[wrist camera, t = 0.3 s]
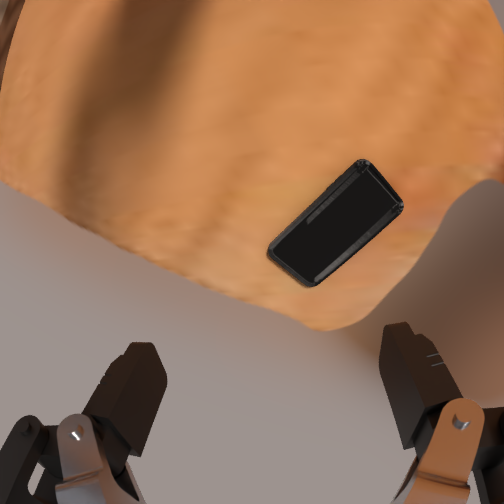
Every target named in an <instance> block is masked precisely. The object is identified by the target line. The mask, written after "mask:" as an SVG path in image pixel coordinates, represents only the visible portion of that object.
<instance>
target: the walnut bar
mask: <svg viewBox="0 0 504 504" xmlns="http://www.w3.org/2000/svg"><path fill="white" fill-rule="evenodd" d="M24 2H25V0H0V90H1V84H2V79H3V74H4V69H5V65H6V60H7V56H8V52H9V48H10V45H11V41H12V38H13V34H14V31H15V28H16V25H17V22H18V19H19V16H20V13H21V10H22V8H23V5H24Z"/></svg>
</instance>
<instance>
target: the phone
mask: <svg viewBox="0 0 504 504" xmlns="http://www.w3.org/2000/svg"><path fill="white" fill-rule="evenodd" d="M403 208H404V204H403V201H402V199H401V198H400V197H399V196H398V194H397V193H396V192H395V191H394V189H393V188H392V187H391V186H390V184H389V183H388V182H387V181H386V179H385V178H384V177H383V176H382V175H381V173H380V172H379V171H378V170H377V169H376V168H375V166H374V165H373V164H372V163H371V162H369V161H368V160H366V159H360V160H357V161H356V162H355V163H354V164H353V165H351V166H350V167H349V168H348V169H347V170H346V171H345V172H344V173H343V174H342V175H341V176H339V177H338V178H337V179H336V180H335V182H334V183H332V184H331V185H330V186H329V187H328V188H327V189H326V190H325V191H324V192H323V193H322V194H321V195H320V196H319V197H318V198H317V199H316V200H315V201H314V202H313V203H312V204H311V205H310V206H309V207H308V208H307V209H306V210H305V211H303V212H302V213H301V214H300V215H299V216H298V217H297V218H296V219H295V220H294V221H293V222H292V223H291V224H290V225H289V226H288V227H287V228H286V229H285V230H284V231H282V232H281V233H280V234H279V235H278V236H277V237H276V238H275V239H274V240H273V241H272V242H271V243H270V244H269V247H268V252H269V256H270V257H271V258H272V259H273V260H274V261H276V262H277V263H278V264H279V265H281V266H282V267H283V268H285V269H286V270H287V271H288V272H290V273H291V274H292V275H293V276H295V277H296V278H297V279H298V280H300V281H301V282H302V283H303V284H305V285H306V286H309V287H314V286H317V285H318V284H320V283H321V282H322V281H323V280H325V279H326V278H327V277H328V276H330V275H331V274H332V273H333V272H334V271H336V270H337V269H338V268H339V267H340V266H342V265H343V264H344V263H345V262H346V261H347V260H349V259H350V258H351V257H352V256H353V255H355V254H356V253H357V252H358V251H359V250H360V249H362V248H363V247H364V246H365V245H366V244H367V243H368V242H370V241H371V240H372V239H373V238H374V237H375V236H376V235H377V234H379V233H380V232H381V231H382V230H383V229H384V228H385V227H386V226H388V225H389V224H390V223H391V222H392V221H393V220H394V219H395V218H396V217H397V216H398V215H400V214H401V212H402V211H403Z"/></svg>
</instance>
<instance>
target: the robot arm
mask: <svg viewBox="0 0 504 504" xmlns="http://www.w3.org/2000/svg"><path fill="white" fill-rule="evenodd" d="M379 370H380V375H381V378H382V381H383V383H384V386H385V390H386V393H387V396H388V399H389V402H390V405H391V408H392V411H393V415H394V418H395V421H396V424H397V428H398V431H399V434H400V438H401V441H402V445H403V449H404V450H405V449H409V448H413V447H415V450H416V454H417V455H416V457H415V459H414V461H413V463H412V465H411V467H410V469H409V471H408V473H407V475H406V477H405V478H404V480H403V482H402V484H401V486H400V488H399V489H398V491H397V493H396V495H395V496H394V498H393V500H392V501H391V503H390V504H466V502H467V500H468V497H469V494H470V486H469V485H467V481H468V477H469V475H470V472H471V471H473V473H474V477H475V481H476V485H477V489H478V493H479V497H480V502H481V504H504V407H498V408H487V409H486V408H485V409H483V408H481V407H480V405H479V404H478V403H476V402H475V401H473V400H471V399H466V398H463V396H462V395H461V392H460V390H459V389H458V387H457V385H456V383H455V381H454V379H453V377H452V376H451V374H450V372H449V370H448V368H447V367H446V365H445V364H444V363H443V360H442V358H441V356H440V355H439V354H438V351H437V349H436V347H435V346H434V344H433V343H432V341H430V340H429V339H428V338H426V337H425V336H424V335H422V334H417V335H414V333H413V331H412V329H411V328H410V326H409V324H408V323H407V322H401V323H395V324H390V325H386V326H385V327H384V330H383V337H382V344H381V350H380V356H379ZM166 387H167V374H166V371H165V369H164V367H163V365H162V362H161V360H160V358H159V355H158V353H157V351H156V348H155V346H154V345H153V344H152V343H150V342H146V343H145V342H132V343H131V344H130V345H129V346H128V348H127V350H126V351H125V353H124V355H120V356H119V357H118V358H117V359H116V360H114V361H113V362H112V363H111V364H110V366H109V368H108V369H107V371H106V373H105V376H103V377H102V379H101V381H100V384H98V386H97V388H96V390H95V391H94V393H93V395H92V396H91V398H90V400H89V401H88V403H87V405H86V407H85V408H84V410H83V412H82V413H81V414H73V415H70V416H68V417H67V418H65V419H64V420H63V421H62V422H61V423H60V425H56V426H54V425H53V426H44V425H43V424H42V423H41V422H40V421H39V419H38V418H37V417H35V416H32V415H28V416H24V417H22V418H21V419H20V420H19V421H17V422H16V424H15V425H14V427H13V429H12V431H11V432H10V434H9V436H8V438H7V439H6V441H5V443H4V445H3V447H2V449H1V450H0V504H146V502H145V500H144V498H143V496H142V494H141V492H140V489H139V487H138V485H137V483H136V480H135V478H134V475H133V473H132V470H131V468H130V466H129V464H128V462H127V458H128V455H133V456H138V457H141V455H142V452H143V449H144V446H145V443H146V441H147V438H148V435H149V433H150V430H151V427H152V424H153V422H154V419H155V416H156V414H157V411H158V408H159V405H160V403H161V400H162V398H163V395H164V392H165V390H166ZM37 462H38V463H39V464H40V465H41V466H42V467H44V468H45V469H44V472H43V474H42V477H41V479H40V481H39V483H38V486H37V488H36V491H35V493H34V495H31V494H30V493H29V491H28V482H29V480H30V477H31V475H32V473H33V471H34V469H35V466H36V464H37Z"/></svg>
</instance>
